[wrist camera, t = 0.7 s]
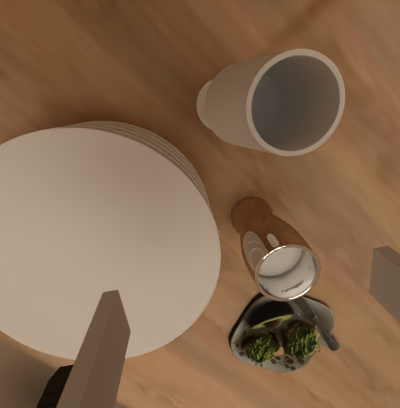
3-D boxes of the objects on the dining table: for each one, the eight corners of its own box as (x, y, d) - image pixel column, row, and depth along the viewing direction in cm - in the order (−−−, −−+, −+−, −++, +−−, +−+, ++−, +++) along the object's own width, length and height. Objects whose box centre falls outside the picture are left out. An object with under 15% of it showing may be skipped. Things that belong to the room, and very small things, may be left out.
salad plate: (359, 307, 49) (377, 327, 44) (304, 375, 54) (315, 399, 49) (268, 269, 45) (277, 287, 40) (217, 346, 50) (221, 370, 45)
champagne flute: (226, 64, 34) (320, -17, 11) (257, 109, 36) (390, 115, 13) (185, 101, 35) (194, 95, 12) (217, 142, 37) (276, 201, 14)
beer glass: (223, 200, 40) (247, 252, 26) (270, 189, 40) (320, 235, 26) (232, 241, 42) (258, 309, 28) (276, 231, 42) (325, 294, 28)
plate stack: (127, 327, 47) (111, 394, 36) (-28, 225, 39) (-109, 271, 28) (248, 216, 41) (272, 256, 30) (96, 70, 33) (56, 53, 22)
